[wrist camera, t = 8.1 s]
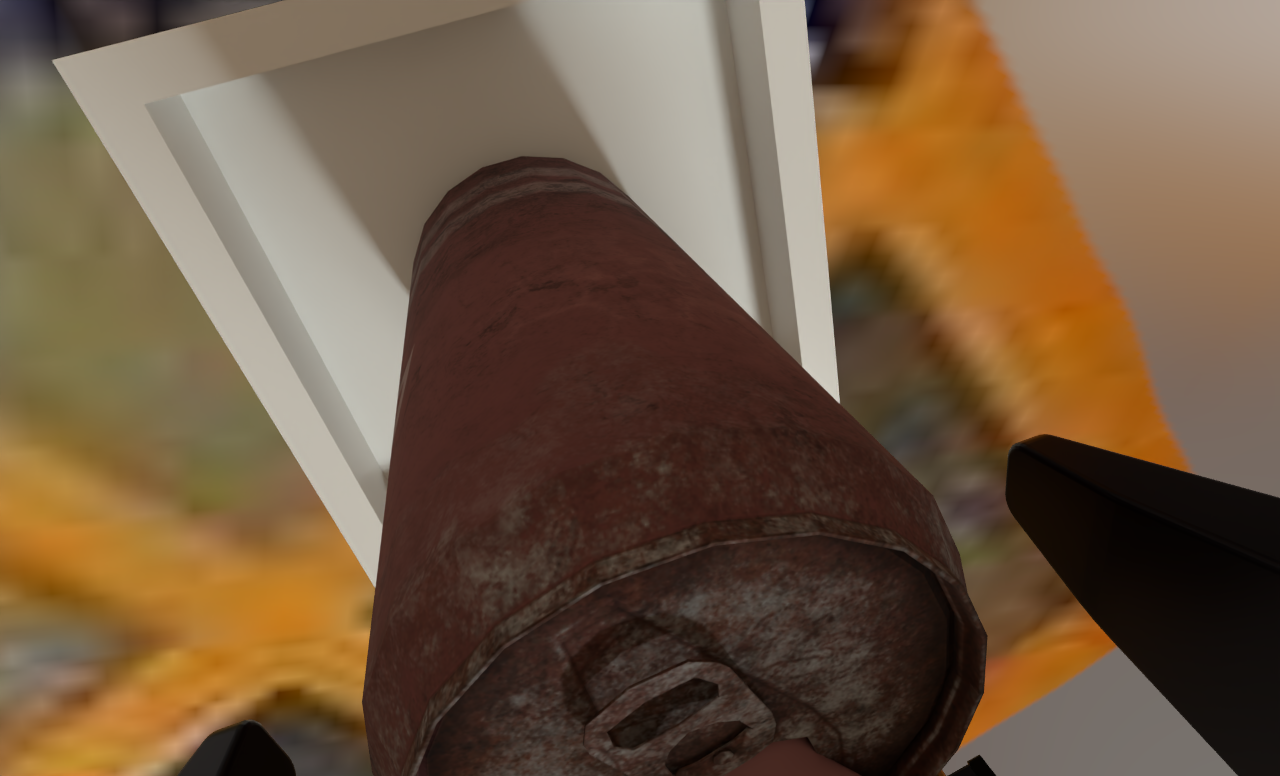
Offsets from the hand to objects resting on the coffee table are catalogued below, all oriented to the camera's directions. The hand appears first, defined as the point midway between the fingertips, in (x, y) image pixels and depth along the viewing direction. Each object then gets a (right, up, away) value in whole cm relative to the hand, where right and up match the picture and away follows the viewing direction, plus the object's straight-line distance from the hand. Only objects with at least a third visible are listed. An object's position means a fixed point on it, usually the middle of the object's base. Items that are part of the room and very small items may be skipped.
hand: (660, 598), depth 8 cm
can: (-3, +5, +10) cm, 12 cm away
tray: (-3, +6, +11) cm, 13 cm away
